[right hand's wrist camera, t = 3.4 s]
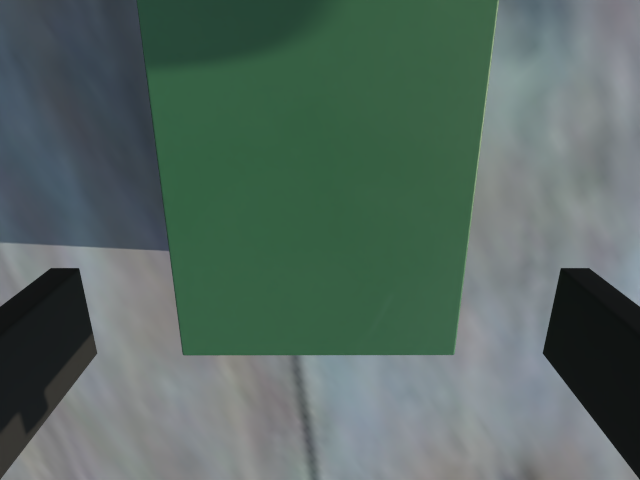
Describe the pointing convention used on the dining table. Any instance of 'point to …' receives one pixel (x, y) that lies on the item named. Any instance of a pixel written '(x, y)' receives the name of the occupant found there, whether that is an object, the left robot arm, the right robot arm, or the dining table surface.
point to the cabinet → (318, 169)
